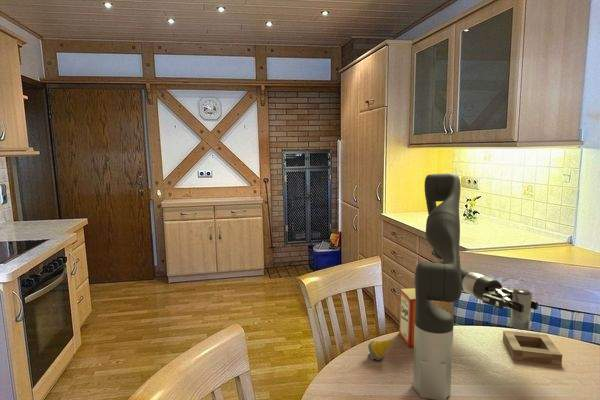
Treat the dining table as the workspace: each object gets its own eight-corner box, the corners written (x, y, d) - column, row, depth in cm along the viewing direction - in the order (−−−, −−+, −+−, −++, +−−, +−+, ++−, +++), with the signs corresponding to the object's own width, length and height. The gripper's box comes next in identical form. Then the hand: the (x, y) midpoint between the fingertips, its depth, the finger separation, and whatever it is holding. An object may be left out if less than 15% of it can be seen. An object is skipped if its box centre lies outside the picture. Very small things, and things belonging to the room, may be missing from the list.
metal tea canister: (531, 330, 107) (534, 295, 106) (512, 328, 109) (515, 293, 107) (526, 323, 112) (529, 289, 111) (508, 321, 113) (510, 287, 112)
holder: (561, 365, 111) (562, 355, 110) (512, 359, 114) (513, 349, 113) (546, 344, 123) (547, 335, 122) (502, 339, 126) (503, 330, 125)
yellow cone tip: (374, 351, 120) (397, 336, 115) (375, 367, 115) (400, 352, 111) (361, 343, 118) (384, 328, 114) (362, 359, 114) (386, 343, 109)
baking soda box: (399, 333, 131) (400, 287, 129) (418, 332, 131) (419, 286, 129) (409, 347, 121) (410, 298, 119) (429, 346, 122) (431, 297, 120)
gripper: (464, 278, 120) (511, 298, 104) (499, 272, 125) (549, 291, 109) (462, 301, 121) (509, 325, 105) (497, 295, 126) (547, 316, 110)
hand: (529, 307), depth 107 cm, fingers closed on metal tea canister, 4 cm apart
